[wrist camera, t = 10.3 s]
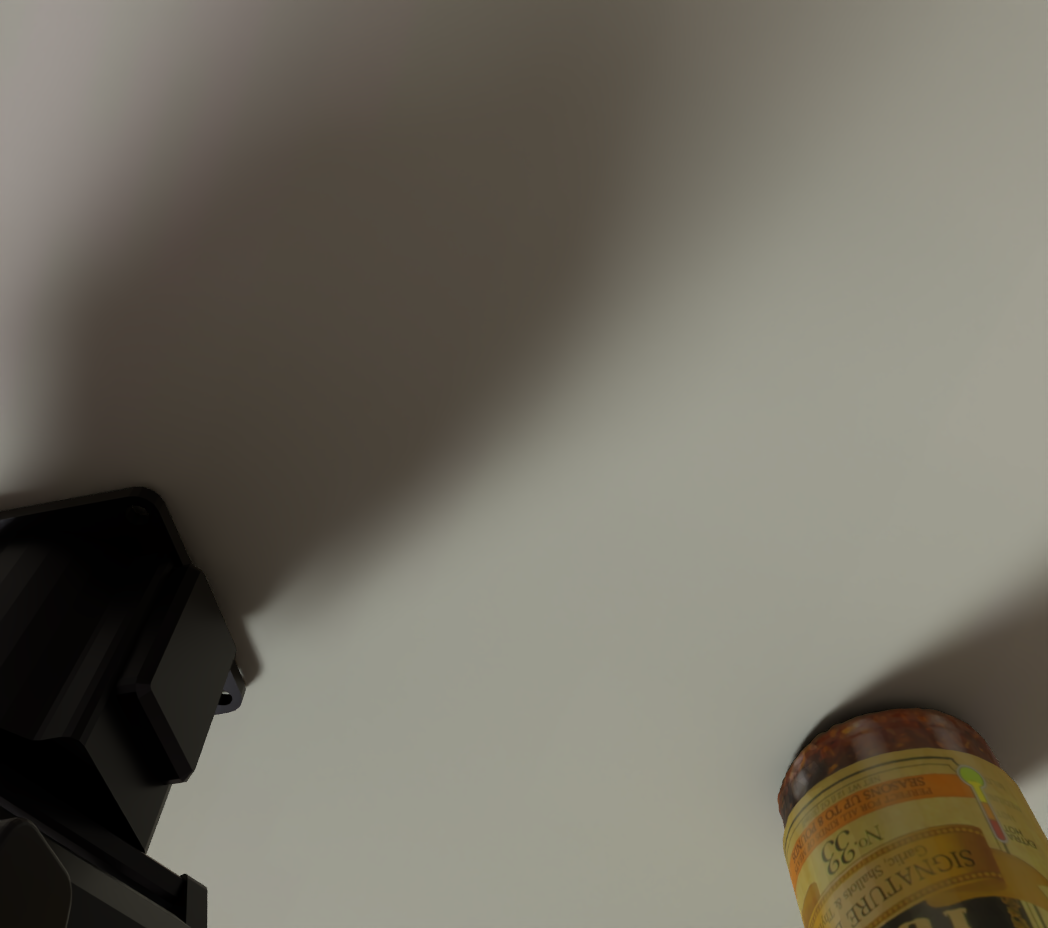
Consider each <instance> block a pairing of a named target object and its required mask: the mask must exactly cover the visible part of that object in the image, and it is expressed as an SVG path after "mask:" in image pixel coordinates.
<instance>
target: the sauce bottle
mask: <svg viewBox="0 0 1048 928" xmlns="http://www.w3.org/2000/svg"><path fill="white" fill-rule="evenodd" d="M778 804H779V812H780V815H781V817H782V819H783V823H784V828H785V831H784V837H783V849H784V854H785V858H786V862H787V866H788V869H789V873H790V877H791V880H792V884H793V888H794V891H795V895H796V899H797V903H798V906H799V910H800V913H801V917H802V920H803V924H804V927H805V928H1048V840H1047V838H1046V836H1045V834H1044V833H1043V831H1042V829H1041V827H1040V825H1039V823H1038V822H1037V820H1036V818H1035V816H1034V814H1033V812H1032V811H1031V809H1030V807H1029V805H1028V803H1027V801H1026V800H1025V798H1024V796H1023V794H1022V792H1021V791H1020V789H1019V787H1018V785H1017V784H1016V783H1015V782H1014V781H1013V780H1012V779H1011V778H1010V777H1009V776H1008V775H1007V774H1006V773H1005V772H1004V771H1003V770H1002V769H1001V767H1000V764H999V762H998V760H997V759H996V757H995V756H994V754H993V752H992V750H991V749H990V747H989V746H988V745H987V743H986V742H985V740H984V739H983V738H982V737H981V736H980V735H979V733H977V732H976V731H975V730H974V729H973V728H972V727H971V726H970V725H968V724H967V723H965V722H963V721H961V720H959V719H957V718H955V717H953V716H951V715H948V714H945V713H943V712H940V711H937V710H932V709H920V708H918V707H917V708H907V709H901V708H899V709H889V710H886V711H880V712H874V713H868V714H864V715H861V716H856V717H854V718H852V719H849V720H847V721H845V722H844V723H840V724H835V725H833V726H832V727H831V728H830V729H829V730H828V731H826V732H822V733H819V734H818V735H817V736H816V737H815V738H814V739H813V740H812V741H811V743H810V744H808V745H807V746H806V747H805V748H804V749H803V750H802V751H801V752H800V754H799V755H798V757H797V758H796V759H795V760H794V761H793V763H792V764H791V767H790V769H789V770H788V771H787V773H786V777H785V778H784V779H783V782H782V786H781V788H780V792H779V794H778Z"/></svg>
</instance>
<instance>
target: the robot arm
mask: <svg viewBox="0 0 1048 928" xmlns="http://www.w3.org/2000/svg"><path fill="white" fill-rule="evenodd" d="M132 506H140V507H142V508H144V509H145V510H146V511H147V512H148V513H149V515H140V514H138V513H136V512H135V511H134V510H133V508H132ZM235 654H236V647H235V644H234V642H233V640H232V637H231V635H230V633H229V631H228V628H227V626H226V624H225V621H224V619H223V617H222V615H221V612H220V610H219V608H218V605H217V603H216V601H215V599H214V596H213V594H212V592H211V589H210V587H209V585H208V583H207V580H206V578H205V576H204V573H203V572H202V571H201V570H200V569H199V568H198V567H196V566H195V565H193V564H192V563H191V561H190V559H189V557H188V554H187V552H186V550H185V547H184V545H183V543H182V541H181V538H180V536H179V534H178V532H177V529H176V527H175V525H174V523H173V520H172V518H171V516H170V514H169V511H168V509H167V507H166V505H165V502H164V501H163V499H162V498H161V496H160V495H159V494H157V493H156V492H155V491H153V490H151V489H148V488H145V487H132V488H126V489H121V490H116V491H110V492H105V493H99V494H94V495H88V496H83V497H77V498H72V499H66V500H61V501H55V502H50V503H44V504H39V505H34V506H28V507H23V508H17V509H12V510H6V511H1V512H0V928H207V887H205V886H204V885H202V884H201V883H199V882H198V881H196V880H195V879H193V878H191V877H190V876H188V875H187V874H183V875H181V876H179V875H177V874H176V873H174V872H172V871H171V870H169V869H168V868H166V867H165V866H163V865H162V864H160V863H159V862H157V861H155V860H154V859H152V858H151V857H149V856H148V855H146V853H147V851H148V848H149V845H150V842H151V840H152V837H153V834H154V832H155V829H156V826H157V824H158V821H159V818H160V815H161V813H162V810H163V807H164V805H165V802H166V799H167V796H168V794H169V791H170V788H171V786H172V784H176V783H182V782H187V780H188V779H189V778H190V776H191V775H192V773H193V772H194V770H195V768H196V765H197V762H198V760H199V757H200V754H201V751H202V748H203V745H204V742H205V740H206V737H207V734H208V731H209V728H210V725H211V722H212V719H213V717H214V715H217V714H223V713H229V712H232V711H235V710H236V709H237V708H239V707H240V705H241V703H242V700H243V697H244V694H245V690H246V688H245V683H244V681H243V679H242V676H241V674H240V672H239V669H238V667H237V665H236V663H235V660H234V656H235ZM223 690H224V691H226V692H228V693H229V694H222V691H223Z"/></svg>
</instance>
